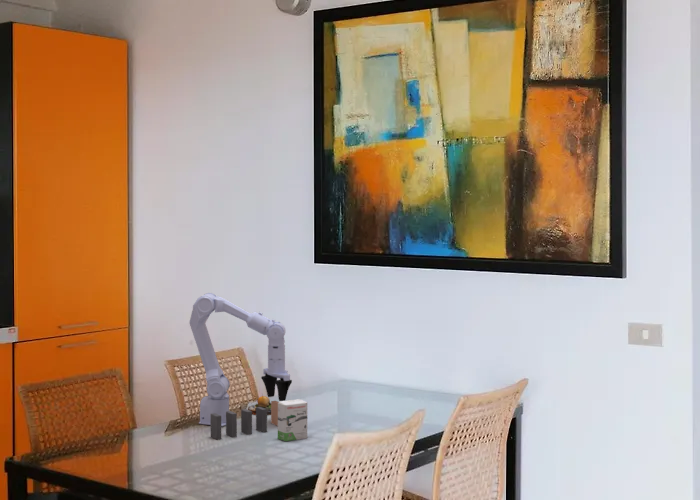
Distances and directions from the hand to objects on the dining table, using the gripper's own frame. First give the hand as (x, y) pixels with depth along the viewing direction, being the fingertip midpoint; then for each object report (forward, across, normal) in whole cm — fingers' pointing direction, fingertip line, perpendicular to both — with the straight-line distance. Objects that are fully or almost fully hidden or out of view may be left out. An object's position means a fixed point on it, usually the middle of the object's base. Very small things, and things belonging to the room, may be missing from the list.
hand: (276, 398), depth 317 cm
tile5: (+9, -5, +25) cm, 27 cm away
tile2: (+9, -5, +9) cm, 13 cm away
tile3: (+9, -5, +14) cm, 18 cm away
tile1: (+9, 0, 0) cm, 9 cm away
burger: (+9, +18, -6) cm, 21 cm away
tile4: (+9, -5, +20) cm, 22 cm away
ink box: (+9, -19, +5) cm, 22 cm away
